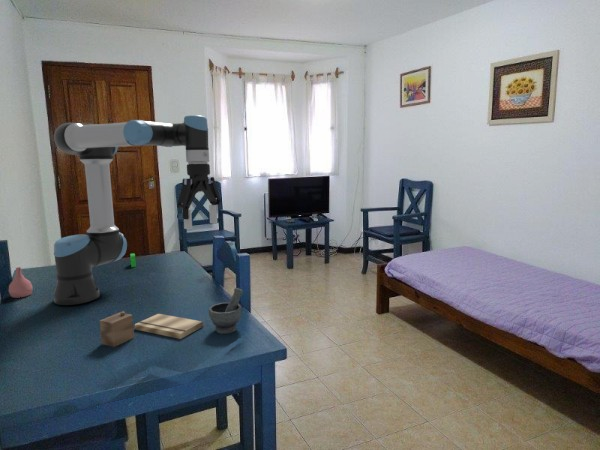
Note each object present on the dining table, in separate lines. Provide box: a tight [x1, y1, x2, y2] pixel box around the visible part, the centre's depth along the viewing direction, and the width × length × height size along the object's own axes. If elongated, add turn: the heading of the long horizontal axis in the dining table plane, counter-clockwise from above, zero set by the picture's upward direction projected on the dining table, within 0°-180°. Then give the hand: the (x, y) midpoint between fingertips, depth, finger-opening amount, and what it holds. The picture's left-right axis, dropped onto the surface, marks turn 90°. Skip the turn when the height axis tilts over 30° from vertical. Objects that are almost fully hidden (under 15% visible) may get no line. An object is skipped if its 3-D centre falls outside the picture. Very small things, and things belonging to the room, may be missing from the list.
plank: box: [134, 313, 204, 340], centre depth 129 cm, size 18×10×2 cm, turn 64°
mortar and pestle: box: [208, 287, 244, 335], centre depth 127 cm, size 11×9×12 cm
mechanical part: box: [129, 253, 137, 268], centre depth 206 cm, size 12×6×8 cm, turn 23°
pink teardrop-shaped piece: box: [8, 266, 33, 299], centre depth 161 cm, size 8×8×12 cm
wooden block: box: [99, 311, 135, 348], centre depth 120 cm, size 5×7×8 cm
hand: (201, 226), depth 144 cm, fingers open, 13 cm apart
